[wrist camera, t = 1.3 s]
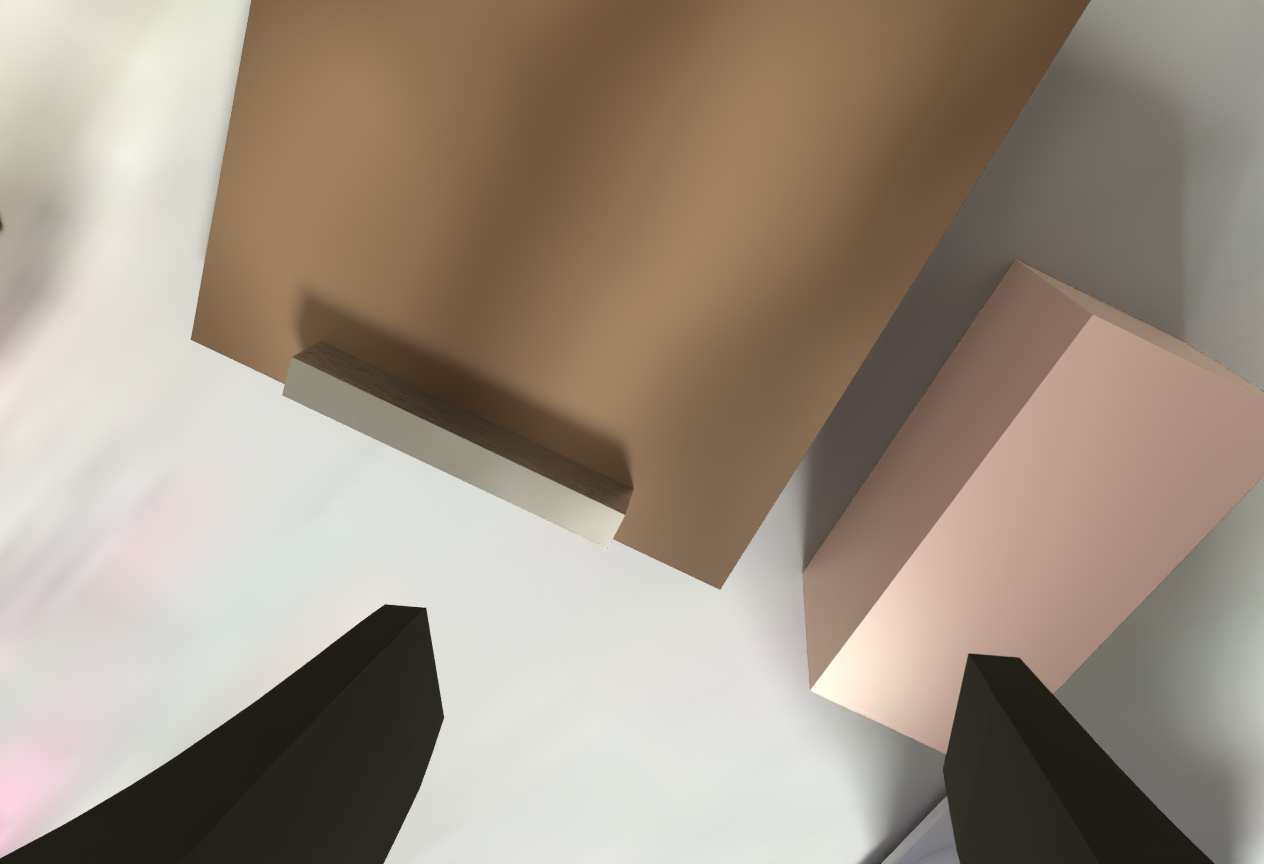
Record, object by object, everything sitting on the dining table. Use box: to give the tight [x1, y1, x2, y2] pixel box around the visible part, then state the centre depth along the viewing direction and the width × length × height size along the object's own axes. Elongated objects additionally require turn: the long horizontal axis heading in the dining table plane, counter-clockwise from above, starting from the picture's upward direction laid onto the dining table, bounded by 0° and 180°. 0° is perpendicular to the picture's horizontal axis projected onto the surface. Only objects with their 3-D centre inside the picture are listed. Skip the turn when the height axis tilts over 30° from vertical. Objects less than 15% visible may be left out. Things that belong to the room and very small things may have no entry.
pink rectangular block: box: [802, 259, 1264, 754], centre depth 16 cm, size 4×9×4 cm, turn 157°
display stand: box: [191, 0, 1090, 589], centre depth 16 cm, size 14×14×3 cm
